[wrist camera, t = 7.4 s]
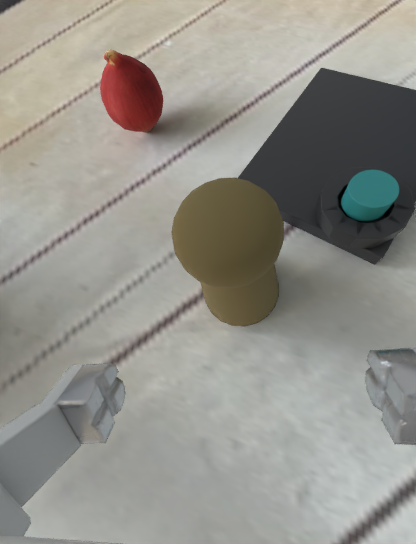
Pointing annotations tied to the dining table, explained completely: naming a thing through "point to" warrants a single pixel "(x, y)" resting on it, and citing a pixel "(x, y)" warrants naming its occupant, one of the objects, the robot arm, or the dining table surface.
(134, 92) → the onion
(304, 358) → the dining table surface
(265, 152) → the scale
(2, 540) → the robot arm
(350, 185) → the button
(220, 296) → the cork
